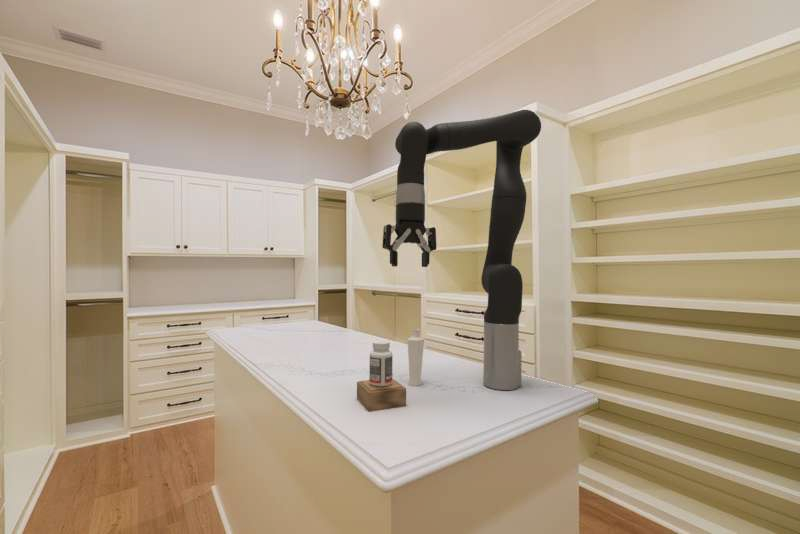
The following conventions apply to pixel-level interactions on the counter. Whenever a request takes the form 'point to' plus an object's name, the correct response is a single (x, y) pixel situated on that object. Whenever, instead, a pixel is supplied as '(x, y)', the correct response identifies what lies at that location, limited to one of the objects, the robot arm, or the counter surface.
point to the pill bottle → (381, 364)
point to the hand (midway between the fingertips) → (409, 266)
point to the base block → (381, 395)
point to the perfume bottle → (415, 357)
